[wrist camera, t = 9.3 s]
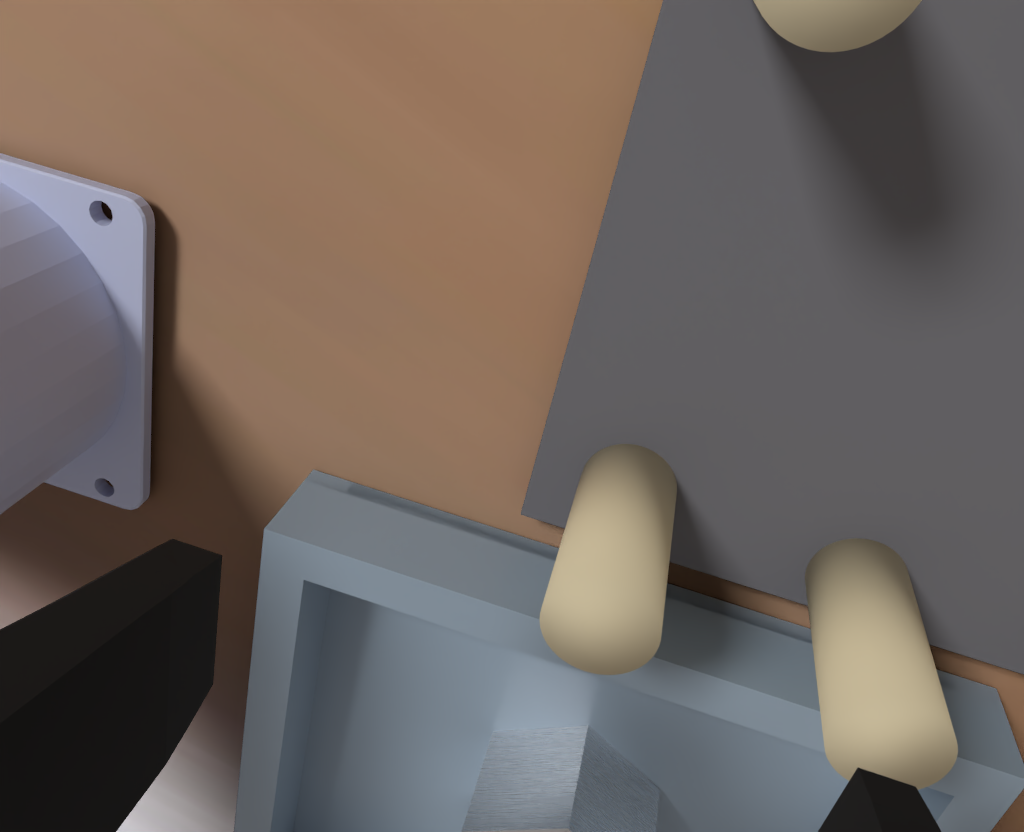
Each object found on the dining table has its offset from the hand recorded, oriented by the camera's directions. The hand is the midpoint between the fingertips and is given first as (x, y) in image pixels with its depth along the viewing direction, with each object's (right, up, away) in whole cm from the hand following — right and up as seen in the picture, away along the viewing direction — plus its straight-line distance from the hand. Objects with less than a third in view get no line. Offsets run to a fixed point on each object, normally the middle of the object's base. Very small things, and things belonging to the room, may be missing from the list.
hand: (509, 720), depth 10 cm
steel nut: (+1, -6, +13) cm, 15 cm away
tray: (+1, -6, +14) cm, 15 cm away
